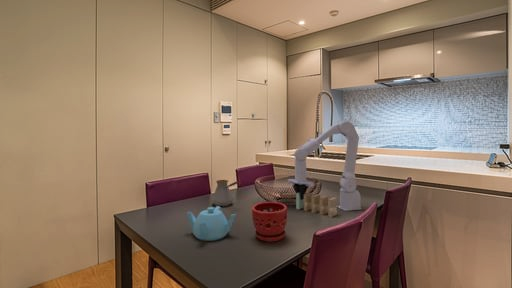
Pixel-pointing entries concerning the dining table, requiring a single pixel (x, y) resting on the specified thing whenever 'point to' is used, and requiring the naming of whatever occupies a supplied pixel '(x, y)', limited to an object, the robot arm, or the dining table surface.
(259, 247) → the dining table surface
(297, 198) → the teal domino
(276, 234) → the plant pot
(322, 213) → the domino
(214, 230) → the teapot
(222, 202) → the coffee pot
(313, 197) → the domino
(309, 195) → the domino
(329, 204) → the domino
